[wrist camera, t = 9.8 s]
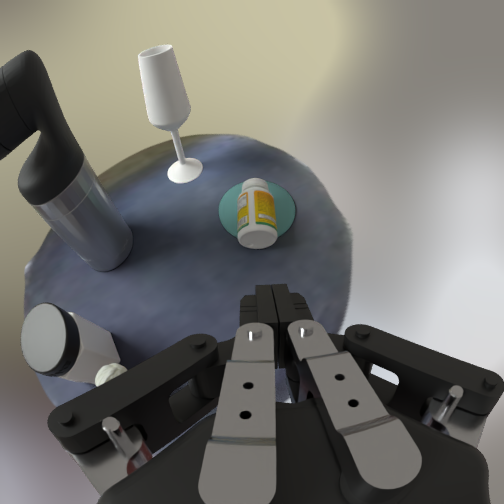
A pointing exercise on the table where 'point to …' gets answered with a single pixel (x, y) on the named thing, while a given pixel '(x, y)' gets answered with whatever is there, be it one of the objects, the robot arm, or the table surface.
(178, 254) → the table surface
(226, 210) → the mat
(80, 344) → the jar
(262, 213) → the supplement bottle
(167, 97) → the champagne flute
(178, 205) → the table surface
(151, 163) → the table surface
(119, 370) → the grandmother figurine
